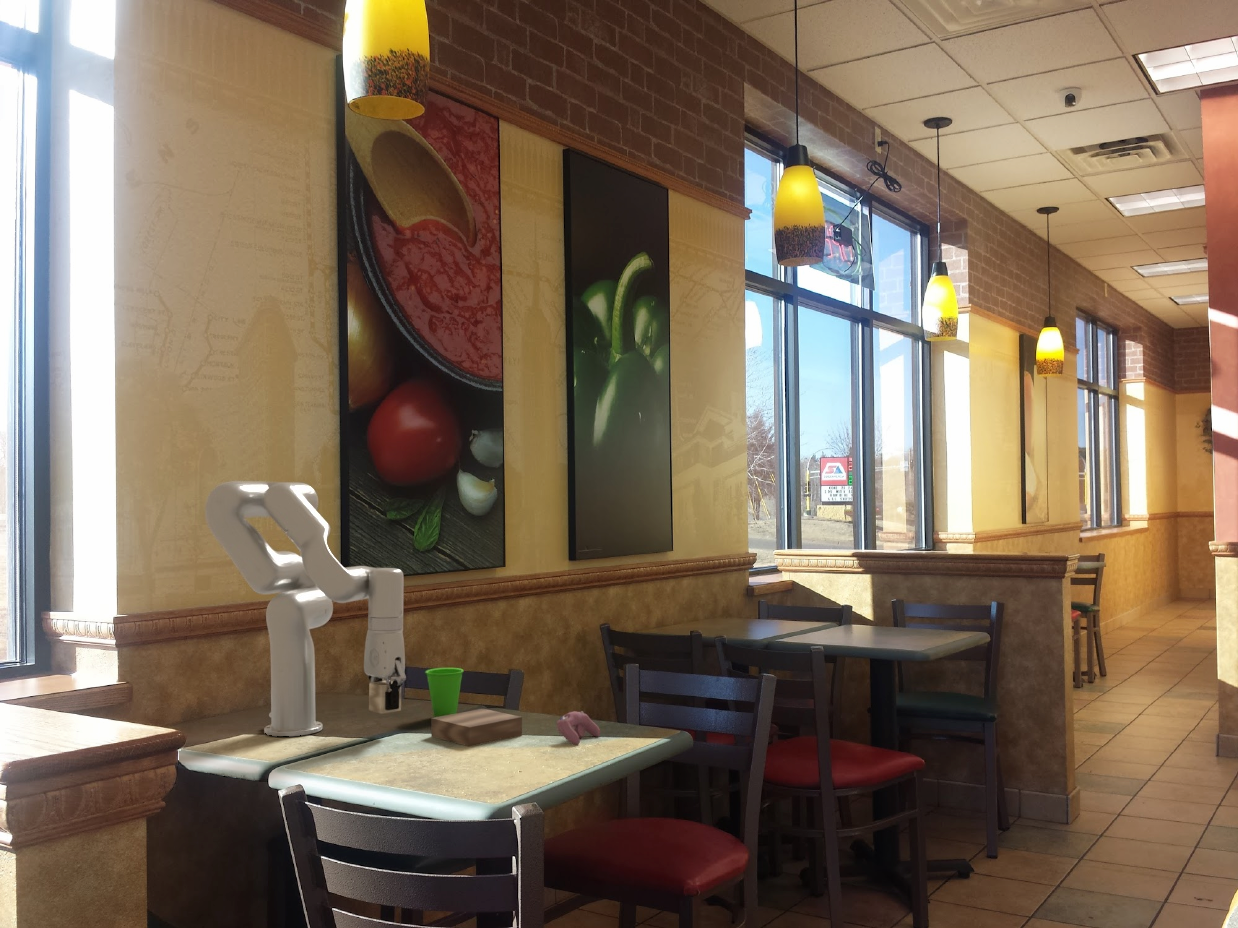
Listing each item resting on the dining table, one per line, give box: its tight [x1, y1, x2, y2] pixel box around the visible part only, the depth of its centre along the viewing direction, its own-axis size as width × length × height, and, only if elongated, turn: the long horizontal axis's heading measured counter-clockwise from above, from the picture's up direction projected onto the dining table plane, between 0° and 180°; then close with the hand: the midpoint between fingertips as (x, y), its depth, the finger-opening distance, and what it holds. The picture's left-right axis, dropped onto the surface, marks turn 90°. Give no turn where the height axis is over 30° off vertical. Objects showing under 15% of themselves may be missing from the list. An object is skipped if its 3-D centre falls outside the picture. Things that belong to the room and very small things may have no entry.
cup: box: [424, 667, 464, 718], centre depth 261 cm, size 9×9×11 cm
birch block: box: [368, 680, 402, 715], centre depth 243 cm, size 5×5×6 cm
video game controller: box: [556, 710, 601, 746], centre depth 236 cm, size 10×5×7 cm, turn 150°
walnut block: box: [430, 708, 523, 748], centre depth 240 cm, size 14×14×4 cm
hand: (385, 706), depth 243 cm, fingers closed on birch block, 4 cm apart
